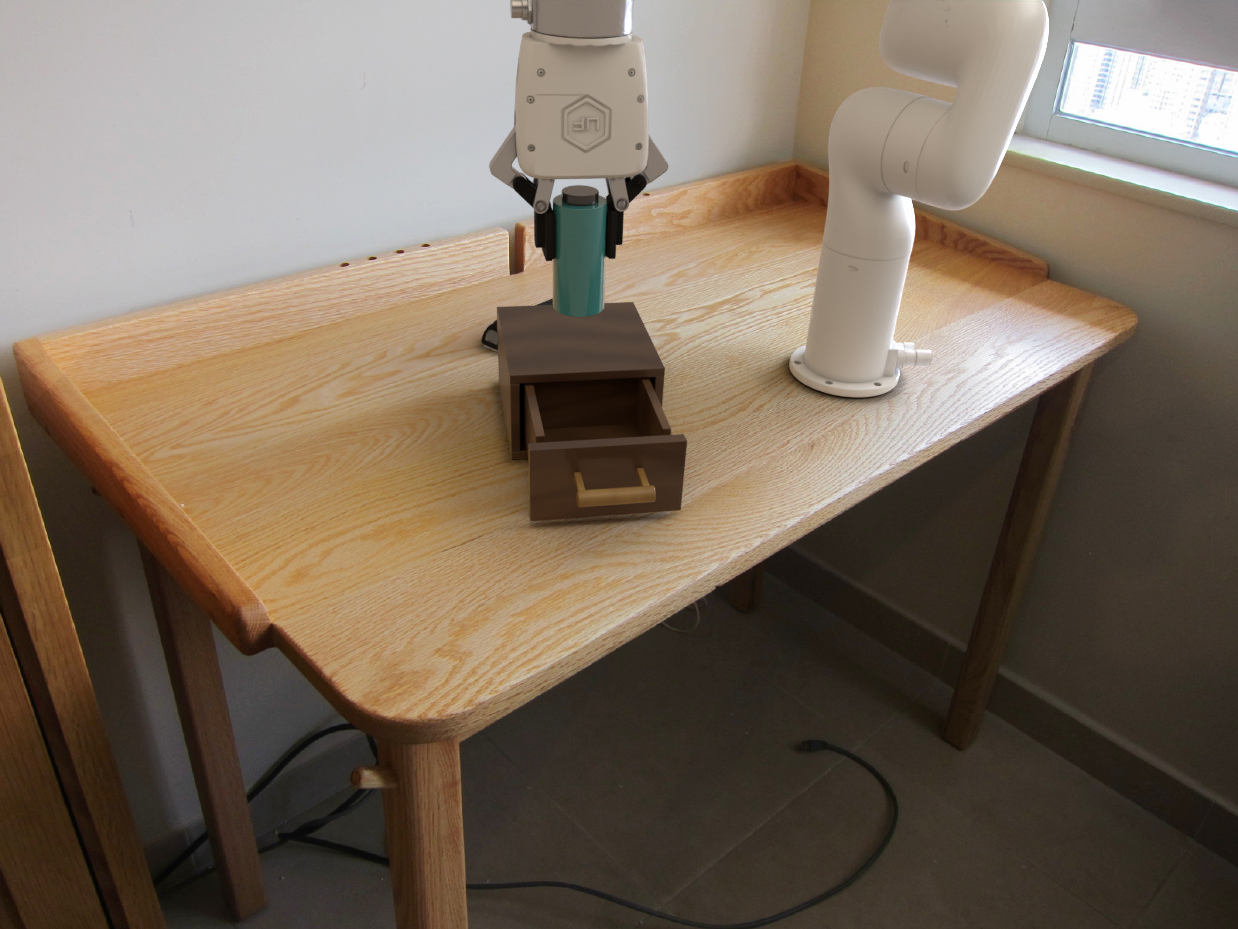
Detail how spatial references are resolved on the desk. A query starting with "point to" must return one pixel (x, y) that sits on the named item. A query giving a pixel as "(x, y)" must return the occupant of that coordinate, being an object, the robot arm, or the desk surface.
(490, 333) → the electric trimmer
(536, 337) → the cabinet
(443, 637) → the desk surface
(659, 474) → the drawer
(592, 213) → the bottle
